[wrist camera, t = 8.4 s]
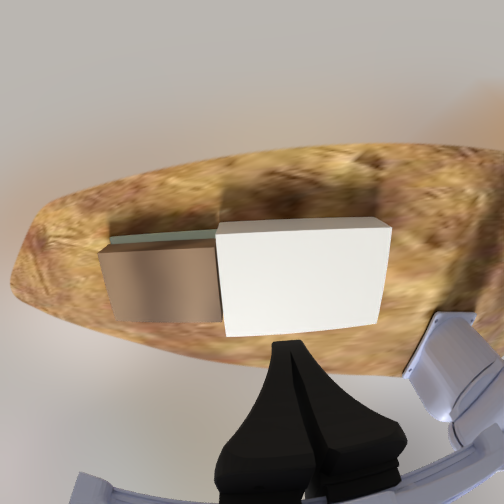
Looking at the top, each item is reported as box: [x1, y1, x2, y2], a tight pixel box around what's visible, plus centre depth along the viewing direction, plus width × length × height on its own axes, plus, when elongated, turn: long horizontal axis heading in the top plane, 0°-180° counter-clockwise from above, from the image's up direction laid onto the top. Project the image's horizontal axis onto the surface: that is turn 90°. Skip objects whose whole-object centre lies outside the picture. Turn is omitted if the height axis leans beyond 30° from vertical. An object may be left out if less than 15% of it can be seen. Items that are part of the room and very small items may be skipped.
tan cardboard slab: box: [98, 238, 223, 322], centre depth 20 cm, size 9×6×2 cm, turn 92°
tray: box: [215, 217, 392, 337], centre depth 20 cm, size 12×8×3 cm, turn 93°
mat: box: [110, 229, 217, 244], centre depth 21 cm, size 9×7×1 cm
